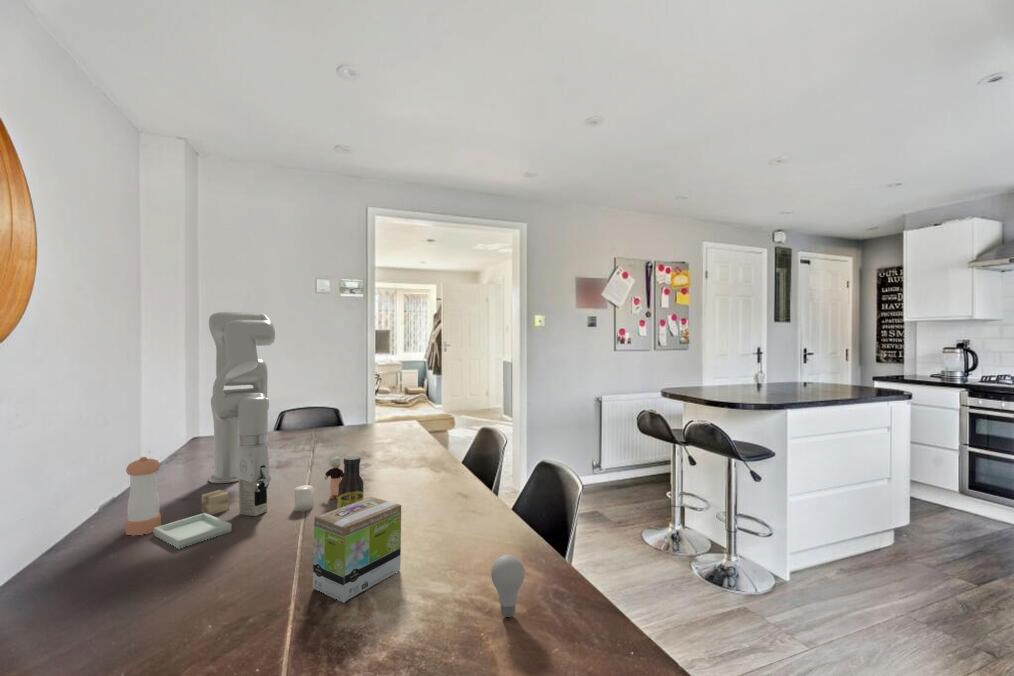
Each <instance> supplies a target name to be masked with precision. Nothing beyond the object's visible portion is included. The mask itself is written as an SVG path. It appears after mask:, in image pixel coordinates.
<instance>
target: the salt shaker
mask: <svg viewBox="0 0 1014 676" xmlns="http://www.w3.org/2000/svg"><path fill="white" fill-rule="evenodd" d="M160 468H161V464H160V462H159V460H157V459H153V458H147V456H141V457H139V459H137V460H134V461H132V462H130V463H129V464H128V465H127V467H126V469H125V470H126V474H127V475H128V476H129V477H130V478H129V486H130V487H129V489H130V490H129V495H128V502H127V505H126V507H127V508H126V509H127V510H126V511H127V512H126V513H127V518H126V519H125V535H126V534H127V535H141V534H146V535H148V534H147V533H149V534H152V533H151V532H153V531H154V528H155V527H158V526H162V514H161V512H160V497H159V493H158V488H157V487H158V486H157V485H158V484H157V483H158V481H157V472H158V471H159V470H160ZM153 533H154V532H153ZM127 535H126V536H127ZM141 536H142V535H141Z"/></svg>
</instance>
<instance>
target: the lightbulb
mask: <svg viewBox="0 0 1014 676" xmlns="http://www.w3.org/2000/svg"><path fill="white" fill-rule="evenodd" d="M525 571H526V570H525V567H524V565H523V562H522V561H521V560H520V559H519V558H518V557H516V556H515V555H513V554H504V555H501V556H499V557H497V558H496V559H495V561H494V562H493V564H492V566H491V569H490V578H491V582H492V584H493V586H494V587H495V589H496V591H497V594H498V602H499V604H500V614H501V616H502V617H504V618H506V617H510V618H512V617H513V616H515V613H516V604H517V601H518V600H517V599H518V594H519V590H520V589H521V587H522V585H523V583H524V581H525V576H526V573H525Z"/></svg>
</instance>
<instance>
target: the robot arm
mask: <svg viewBox="0 0 1014 676" xmlns="http://www.w3.org/2000/svg"><path fill="white" fill-rule="evenodd" d="M208 327H209V332H210V335H211V337H212V339H213V341H214V345H215V349H216V350H215V352H216V355H215V356H216V357H215V358H216V359H215V363H216V364H215V370H216V371H215V375H216V378H215V380H214V382H213V385H212V386H213V387H212V396H211V399H210V406H211V413H212V421H213V467H212V470H213V474H212V475H210V476H209V477H208V481H209V482H210V483H212V484H228V483H230V484H231V483H235V482H239V479H240V480H243V481H246V482H249V483H254V482H255V488H256V491H255V492H254V493H255V506H258V505H262V504H265V503H266V502H267V503H268V487H269V484H270V482H271V480H272V478H271V476H270V459H269V451H268V444H269V436H268V435H269V431H268V430H269V427H268V426H269V423H268V422H269V419H268V418H269V417H268V415H269V412H268V411H269V408H270V402H269V401H270V400H269V398H268V379H269V378H268V375H269V374H268V366H267V364H266V362H265V361H264V360H263V359H261V358H258V351H257V350H258V348H257V346H260V347H261V346H265V347H266V346H271V345H272V344H274V343H275V339H276V331H275V327H274V324H273V322H272V320H271V319H270V318H269V317H268V316H267V315H266V314H265V313H261V312H239V311H222V312H221V311H220V312H215V313H212V314H211V315H210V316H209V318H208ZM236 386H237V387H238V386H252V387H249V388H248V387H247V388H229V389H225V387H236ZM259 477H262V479H259V480H258V478H259ZM258 482H262V483H261V484H260V486H259V483H258Z"/></svg>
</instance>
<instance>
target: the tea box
mask: <svg viewBox="0 0 1014 676" xmlns="http://www.w3.org/2000/svg"><path fill="white" fill-rule="evenodd" d="M313 525H314V527H313V558H312V560H313V561H312V563H313V564H312V565H313V566H312V567H313V569H312V589H314V590H316V591H318V592H319V591H320V592H319V593H321V592H322V594H323V593H324V595H325V596H328V597H330V598H331V599H333V600H336V599H337V600H336V601H338V602H340V603H343V604H344V603H346V602H348V601H349V600H350V599H353V598H354V597H355V596H358V595H359V594H361V593H363V592H365V591H366V590H368V589H369V588H371V587H374V586H375V585H377V584H379V583H381V582H382V581H385V579H388V578H390V577H392V576H394V575H396V574H397V573H399V572H400V571H401V561H402V560H401V554H402V551H401V546H402V538H401V537H402V504H399V503H396V502H392V501H389V500H385V499H381V498H377V497H374V496H369V497H367V498H363V500H361V501H358V502H355V503H352V504H350V505H347V506H344V507H341V508H338V509H337V508H336V509H333V510H331V511H327V512H324V513H322V514H319V515H316V516H314V524H313ZM398 571H399V572H398ZM396 572H397V573H396ZM395 573H396V574H395Z"/></svg>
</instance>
